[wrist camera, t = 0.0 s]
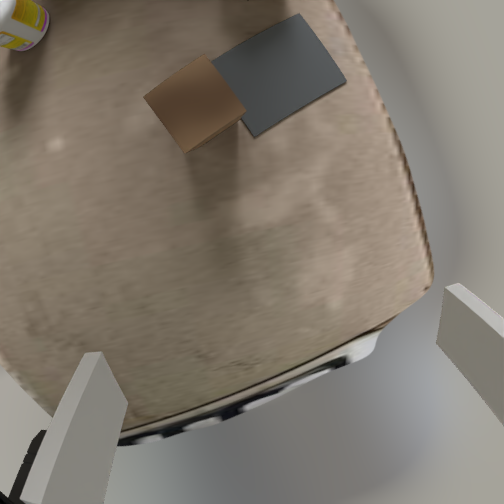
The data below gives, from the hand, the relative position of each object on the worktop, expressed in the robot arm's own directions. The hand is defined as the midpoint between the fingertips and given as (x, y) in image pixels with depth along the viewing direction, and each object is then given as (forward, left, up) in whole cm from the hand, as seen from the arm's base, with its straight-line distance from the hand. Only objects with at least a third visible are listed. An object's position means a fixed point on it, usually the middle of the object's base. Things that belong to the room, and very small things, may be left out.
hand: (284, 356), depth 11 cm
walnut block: (-10, -2, -28) cm, 30 cm away
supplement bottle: (-29, -23, -28) cm, 47 cm away
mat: (-14, +6, -28) cm, 32 cm away
